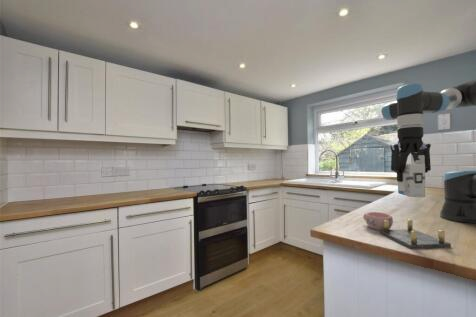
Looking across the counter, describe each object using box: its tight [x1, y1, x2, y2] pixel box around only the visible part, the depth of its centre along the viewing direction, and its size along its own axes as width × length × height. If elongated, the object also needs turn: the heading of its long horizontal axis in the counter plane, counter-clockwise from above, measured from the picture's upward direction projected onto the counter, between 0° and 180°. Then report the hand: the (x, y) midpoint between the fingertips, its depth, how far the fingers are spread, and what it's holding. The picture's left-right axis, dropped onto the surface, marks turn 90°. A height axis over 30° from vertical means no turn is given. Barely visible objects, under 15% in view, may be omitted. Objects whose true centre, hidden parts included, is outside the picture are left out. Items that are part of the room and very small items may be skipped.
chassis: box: [378, 219, 452, 249], centre depth 81 cm, size 14×15×5 cm
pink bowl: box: [362, 211, 394, 231], centre depth 95 cm, size 12×10×6 cm
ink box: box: [397, 154, 426, 198], centre depth 81 cm, size 8×5×15 cm, turn 169°
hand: (411, 190), depth 81 cm, fingers closed on ink box, 6 cm apart
